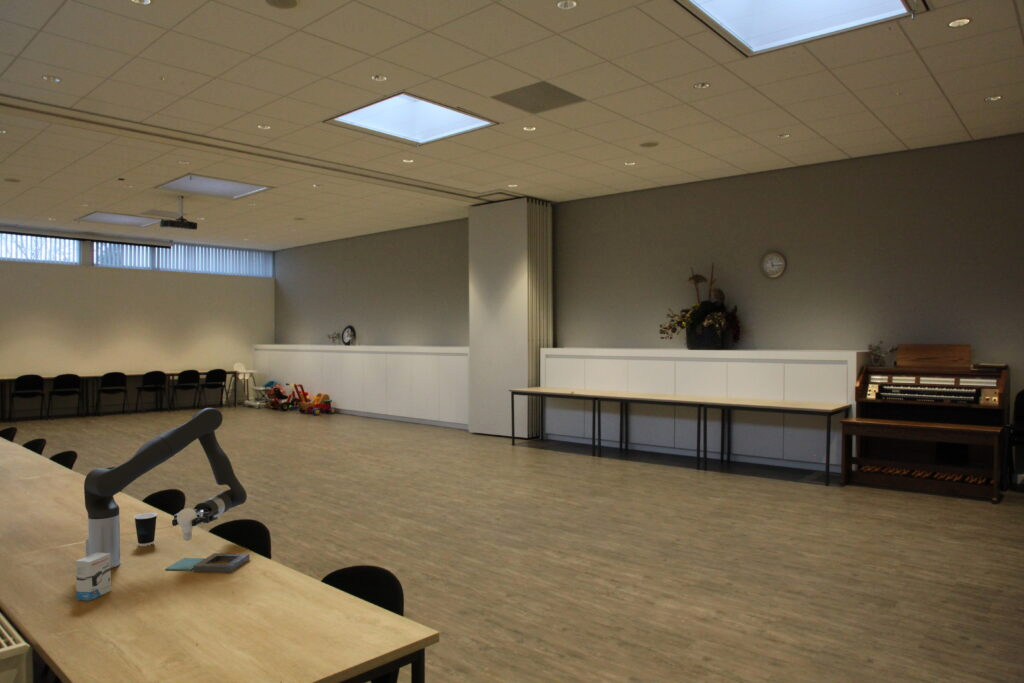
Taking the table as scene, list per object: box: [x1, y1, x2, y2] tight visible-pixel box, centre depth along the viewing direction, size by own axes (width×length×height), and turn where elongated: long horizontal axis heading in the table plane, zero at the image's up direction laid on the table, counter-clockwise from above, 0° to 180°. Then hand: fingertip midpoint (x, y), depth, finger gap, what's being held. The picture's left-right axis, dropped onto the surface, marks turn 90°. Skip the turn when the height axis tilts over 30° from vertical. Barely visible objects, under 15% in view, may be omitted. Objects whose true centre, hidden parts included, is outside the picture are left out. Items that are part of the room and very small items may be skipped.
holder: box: [192, 552, 250, 574], centre depth 233 cm, size 13×13×2 cm
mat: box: [165, 557, 207, 572], centre depth 234 cm, size 9×11×1 cm
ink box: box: [75, 553, 112, 602], centre depth 208 cm, size 8×5×12 cm, turn 168°
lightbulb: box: [177, 507, 197, 542], centre depth 234 cm, size 6×6×11 cm
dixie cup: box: [133, 512, 158, 547], centre depth 258 cm, size 8×8×11 cm
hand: (183, 523), depth 232 cm, fingers closed on lightbulb, 6 cm apart
